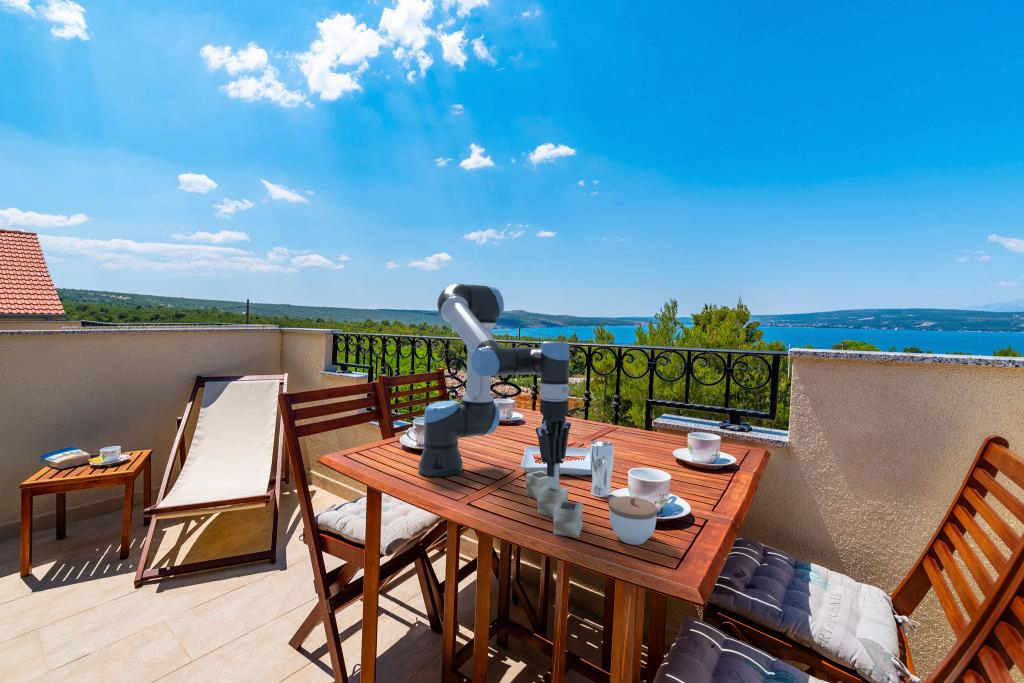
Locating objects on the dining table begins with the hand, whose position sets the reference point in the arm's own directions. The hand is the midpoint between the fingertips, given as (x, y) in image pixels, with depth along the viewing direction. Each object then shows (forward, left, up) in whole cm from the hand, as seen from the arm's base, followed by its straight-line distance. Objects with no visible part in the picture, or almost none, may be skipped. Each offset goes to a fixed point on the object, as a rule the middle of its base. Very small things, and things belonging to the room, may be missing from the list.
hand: (553, 487), depth 108 cm
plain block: (0, 0, -7) cm, 7 cm away
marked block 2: (+9, -6, -7) cm, 13 cm away
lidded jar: (+22, +1, -7) cm, 23 cm away
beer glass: (+3, +20, -7) cm, 21 cm away
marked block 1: (-10, +7, -7) cm, 14 cm away
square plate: (-22, +34, -7) cm, 41 cm away
